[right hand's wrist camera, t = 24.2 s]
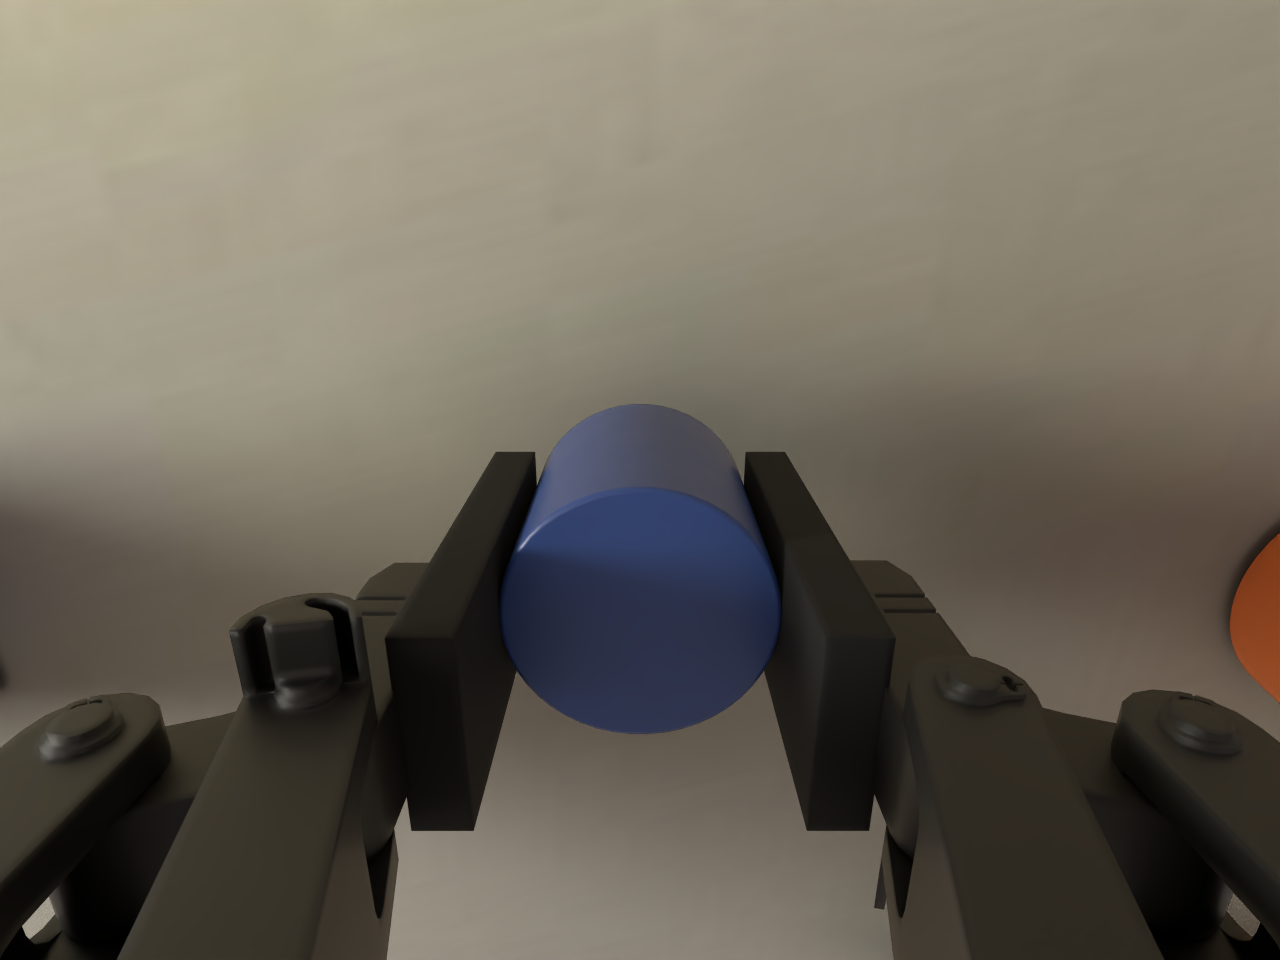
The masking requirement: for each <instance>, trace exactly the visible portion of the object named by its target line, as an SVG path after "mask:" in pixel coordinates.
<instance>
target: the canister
mask: <svg viewBox="0 0 1280 960" xmlns="http://www.w3.org/2000/svg"><path fill="white" fill-rule="evenodd" d="M781 607H782V602H781V592H780V588H779V583H778V578H777V576H776V573H775V570H774V567H773V565H772V562H771V559H770V556H769V554H768V551H767V548H766V545H765V543H764V540H763V537H762V534H761V532H760V529H759V526H758V523H757V521H756V518H755V515H754V513H753V510H752V507H751V504H750V502H749V499H748V496H747V493H746V491H745V488H744V485H743V482H742V480H741V477H740V474H739V471H738V469H737V466H736V463H735V461H734V459H733V457H732V456H731V454H730V452H729V450H728V449H727V448H726V446H725V445H724V444H723V442H722V441H721V440H720V439H719V438H718V437H717V436H716V435H715V433H714V432H713V431H712V430H710V429H709V428H708V427H706V426H705V425H704V424H703V423H701V422H700V421H698V420H696V419H695V418H693V417H691V416H689V415H687V414H685V413H682V412H680V411H677V410H675V409H671V408H667V407H664V406H657V405H650V404H632V405H623V406H618V407H614V408H610V409H606V410H604V411H601V412H599V413H596V414H594V415H592V416H590V417H588V418H586V419H585V420H583V421H581V422H580V423H579V424H577V425H576V426H575V427H573V428H572V429H571V430H570V431H569V432H568V433H567V434H566V435H565V436H563V437H562V438H561V440H560V441H559V442H558V444H557V445H556V446H555V447H554V449H553V451H552V452H551V454H550V456H549V457H548V459H547V461H546V464H545V466H544V469H543V471H542V474H541V477H540V479H539V482H538V485H537V488H536V490H535V493H534V496H533V498H532V501H531V504H530V506H529V509H528V512H527V514H526V517H525V520H524V523H523V525H522V528H521V531H520V533H519V536H518V539H517V541H516V544H515V547H514V550H513V552H512V555H511V558H510V560H509V563H508V566H507V568H506V571H505V574H504V577H503V581H502V585H501V589H500V596H499V615H500V628H501V633H502V638H503V642H504V644H505V647H506V650H507V652H508V655H509V657H510V659H511V661H512V663H513V664H514V666H515V668H516V670H517V672H518V673H519V674H520V676H521V677H522V678H523V680H524V681H525V682H526V684H527V685H528V686H529V687H530V688H531V689H532V690H533V691H534V692H535V693H536V694H537V695H538V696H539V697H540V698H541V699H543V700H544V701H545V702H546V703H547V704H549V705H550V706H551V707H553V708H554V709H556V710H558V711H559V712H561V713H562V714H564V715H566V716H568V717H570V718H572V719H574V720H576V721H578V722H580V723H583V724H586V725H589V726H592V727H595V728H598V729H603V730H607V731H612V732H619V733H628V734H652V733H663V732H669V731H673V730H678V729H682V728H686V727H689V726H692V725H695V724H698V723H700V722H702V721H704V720H707V719H709V718H711V717H713V716H715V715H717V714H718V713H720V712H721V711H723V710H725V709H726V708H728V707H729V706H731V705H732V704H733V703H734V702H736V701H737V700H738V699H740V698H741V697H742V696H743V695H744V694H745V693H746V692H747V691H748V690H749V689H750V688H751V687H752V686H753V684H754V683H755V682H756V680H757V679H758V678H759V677H760V675H761V674H762V672H763V671H764V669H765V667H766V666H767V664H768V662H769V660H770V658H771V656H772V654H773V651H774V649H775V646H776V644H777V640H778V636H779V631H780V623H781Z"/></svg>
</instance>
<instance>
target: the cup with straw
mask: <svg viewBox="0 0 1280 960" xmlns="http://www.w3.org/2000/svg"><path fill="white" fill-rule="evenodd" d="M1230 634H1231V640H1232V644H1233V648H1234V650H1235V653H1236V655H1237V657H1238V659H1239V660H1240V662H1241V664H1242V666H1243V667H1244V668H1245V670H1246V671H1247V672H1248V673H1249V674H1250V675H1251V676H1252V677H1253V678H1254V679H1255V680H1256V681H1257V682H1258V683H1259V684H1260V685H1261V686H1262V687H1263V688H1264V689H1265V690H1266V691H1267V692H1268V693H1269V694H1270V695H1271V696H1272V697H1273V698H1274V699H1275V700H1276V701H1278V702H1279V703H1280V533H1279V534H1278V535H1277V536H1276V537H1275V538H1274V539H1272V540H1271V541H1270V542H1269V543H1268V544H1267V546H1266V547H1265V548H1264V549H1263V550H1262V551H1261V552H1260V553H1259V555H1258V556H1257V557H1256V558H1255V560H1254V561H1253V562H1252V564H1251V565H1250V567H1249V568H1248V570H1247V571H1246V573H1245V575H1244V577H1243V578H1242V580H1241V583H1240V585H1239V587H1238V589H1237V592H1236V595H1235V598H1234V601H1233V605H1232V610H1231V617H1230Z"/></svg>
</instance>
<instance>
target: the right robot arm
mask: <svg viewBox="0 0 1280 960" xmlns="http://www.w3.org/2000/svg"><path fill="white" fill-rule="evenodd" d="M536 488H537V481H536V462H535V452H496V453H495V454H494V456H493V458H492V459H491V461H490V463H489V464H488V466H487V468H486V469H485V471H484V473H483V474H482V476H481V478H480V479H479V481H478V483H477V484H476V486H475V488H474V489H473V491H472V493H471V494H470V496H469V498H468V499H467V501H466V503H465V504H464V506H463V508H462V509H461V511H460V513H459V514H458V516H457V518H456V519H455V521H454V523H453V524H452V526H451V528H450V529H449V531H448V533H447V534H446V536H445V538H444V539H443V541H442V543H441V544H440V546H439V548H438V549H437V551H436V553H435V554H434V556H433V558H432V559H431V561H430V563H394V564H392V565H390V566H389V567H387V568H386V569H384V570H383V571H381V572H379V573H378V574H376V575H375V576H373V577H371V578H370V579H369V580H368V582H367V583H366V584H365V586H364V587H363V589H362V590H361V591H360V593H359V594H358V595H357V597H356V598H357V599H356V600H352V599H351V598H350V597H346V596H342V595H337V594H333V593H309V594H303V595H298V596H292V597H286V598H283V599H280V600H277V601H274V602H271V603H268V604H265V605H263V606H260V607H258V608H257V609H255V610H253V611H251V612H250V613H248V614H246V615H244V616H243V617H241V618H240V619H239V620H238V621H237V622H236V623H235V624H234V625H233V626H232V627H231V629H230V630H229V633H230V637H231V642H232V646H233V650H234V655H235V659H236V664H237V668H238V673H239V677H240V682H241V686H242V690H243V695H244V697H243V699H242V701H241V703H240V705H239V707H238V709H237V711H236V712H233V713H229V714H225V715H221V716H217V717H212V718H206V719H201V720H196V721H191V722H186V723H181V724H176V725H171V726H166V727H165V725H164V721H163V717H162V714H161V710H160V706H159V704H157V703H156V702H155V701H154V700H152V699H151V698H150V697H149V696H144V695H138V694H133V693H122V694H111V695H100V696H95V697H90V699H87V700H86V699H83V700H80V701H77V702H73V703H71V704H69V705H67V706H66V707H64V708H62V709H59V710H57V711H55V712H53V713H50V714H48V715H46V716H44V717H42V718H41V719H39V720H38V721H36V722H35V723H33V724H32V725H30V726H29V727H27V728H25V729H24V730H22V731H21V732H20V733H18V734H17V735H16V736H15V737H13V738H12V739H11V740H10V741H8V742H7V743H6V744H5V745H3V746H2V747H1V748H0V960H386V959H387V950H388V942H389V934H390V926H391V917H392V909H393V901H394V893H395V885H396V876H397V868H398V852H397V845H396V838H395V832H394V827H395V824H396V822H397V819H398V817H399V814H400V812H401V809H402V807H403V804H404V802H405V799H406V797H407V802H408V809H409V816H410V823H411V831H474V827H475V823H476V820H477V816H478V812H479V809H480V805H481V801H482V797H483V794H484V790H485V786H486V782H487V779H488V775H489V771H490V768H491V764H492V760H493V756H494V753H495V749H496V745H497V742H498V738H499V734H500V730H501V727H502V723H503V719H504V715H505V712H506V708H507V704H508V701H509V697H510V693H511V689H512V686H513V682H514V678H515V674H516V671H517V670H516V668H515V666H514V664H513V663H512V661H511V659H510V657H509V655H508V652H507V650H506V647H505V644H504V642H503V638H502V633H501V628H500V615H499V596H500V589H501V585H502V581H503V577H504V574H505V571H506V568H507V566H508V563H509V560H510V558H511V555H512V552H513V550H514V547H515V544H516V541H517V539H518V536H519V533H520V531H521V528H522V525H523V523H524V520H525V517H526V514H527V512H528V509H529V506H530V504H531V501H532V498H533V496H534V493H535V490H536ZM744 488H745V491H746V493H747V496H748V499H749V502H750V504H751V507H752V510H753V513H754V515H755V518H756V521H757V523H758V526H759V529H760V532H761V534H762V537H763V540H764V543H765V545H766V548H767V551H768V554H769V556H770V559H771V562H772V565H773V567H774V570H775V573H776V576H777V578H778V583H779V588H780V592H781V602H782V607H781V623H780V631H779V636H778V640H777V644H776V646H775V649H774V651H773V654H772V656H771V658H770V660H769V662H768V664H767V666H766V667H765V669H764V672H765V676H766V680H767V683H768V687H769V691H770V695H771V698H772V702H773V706H774V709H775V713H776V717H777V721H778V724H779V728H780V732H781V735H782V739H783V743H784V747H785V750H786V754H787V758H788V762H789V765H790V769H791V773H792V776H793V780H794V784H795V788H796V791H797V795H798V799H799V803H800V806H801V810H802V814H803V817H804V821H805V825H806V829H807V831H869V828H870V820H871V813H872V806H873V799H874V794H875V797H876V799H877V802H878V804H879V807H880V809H881V812H882V814H883V817H884V819H885V822H886V824H887V825H886V832H885V838H884V845H883V852H882V858H881V865H880V872H879V878H878V885H877V891H876V899H875V906H874V908H878V909H884V907H885V901H886V899H887V908H888V916H889V924H890V932H891V940H892V949H893V957H894V960H1280V743H1279V742H1278V741H1277V740H1276V739H1274V738H1273V737H1272V736H1271V735H1269V734H1268V733H1267V732H1266V731H1264V730H1263V729H1262V728H1260V727H1259V726H1257V725H1256V724H1254V723H1253V722H1251V721H1249V720H1248V719H1246V718H1245V717H1243V716H1242V715H1240V714H1239V713H1237V712H1235V711H1233V710H1230V709H1228V708H1226V707H1223V706H1221V705H1219V704H1216V703H1215V702H1214V701H1212V700H1209V699H1206V698H1203V697H1200V696H1197V695H1196V696H1192V694H1188V693H1183V692H1174V691H1163V690H1147V691H1141V692H1136V693H1132V694H1131V695H1130V696H1129V697H1128V698H1126V699H1125V700H1124V701H1123V702H1122V705H1121V709H1120V713H1119V716H1118V720H1117V724H1116V723H1111V722H1106V721H1101V720H1096V719H1091V718H1086V717H1081V716H1076V715H1070V714H1065V713H1061V712H1057V711H1053V710H1049V709H1045V708H1042V706H1041V704H1040V702H1039V700H1038V697H1037V695H1036V694H1035V693H1034V692H1033V690H1032V689H1031V688H1030V687H1029V685H1028V684H1027V683H1026V682H1025V681H1024V680H1023V679H1021V678H1020V677H1018V676H1017V675H1015V674H1014V673H1012V672H1011V671H1009V670H1008V669H1007V668H1004V667H1002V666H999V665H997V664H994V663H992V662H989V661H987V660H985V659H981V658H976V657H971V656H970V655H969V653H968V652H967V651H966V649H965V648H964V647H963V645H962V644H961V643H960V641H959V640H958V639H957V637H956V636H955V635H954V633H953V632H952V630H951V629H950V628H949V626H948V625H947V624H946V622H945V621H944V620H943V618H942V617H941V616H940V614H939V613H936V609H935V608H934V606H933V605H932V603H931V602H930V601H929V599H928V598H925V594H924V593H923V591H922V590H921V589H920V587H919V586H918V585H917V583H916V582H915V581H914V579H913V578H912V577H911V576H910V575H909V574H907V573H905V572H904V571H902V570H901V569H899V568H898V567H896V566H894V565H893V564H891V563H890V562H888V561H850V560H849V558H848V557H847V555H846V553H845V552H844V550H843V548H842V547H841V545H840V543H839V542H838V540H837V538H836V537H835V535H834V533H833V532H832V530H831V528H830V527H829V525H828V523H827V522H826V520H825V518H824V517H823V515H822V513H821V512H820V510H819V508H818V507H817V505H816V503H815V502H814V500H813V498H812V497H811V495H810V493H809V492H808V490H807V488H806V487H805V485H804V483H803V482H802V480H801V478H800V476H799V475H798V473H797V471H796V470H795V468H794V466H793V465H792V463H791V461H790V460H789V458H788V456H787V455H786V453H785V452H746V456H745V475H744ZM1233 893H1234V894H1235V895H1236V896H1237V897H1238V898H1239V899H1240V900H1241V901H1242V902H1243V904H1244V905H1245V906H1246V907H1247V908H1248V909H1249V910H1250V911H1251V912H1252V913H1253V915H1254V916H1255V917H1256V918H1257V919H1258V920H1259V921H1260V925H1259V927H1258V930H1257V932H1256V934H1255V935H1254V936H1253V937H1252V936H1250V935H1249V934H1248V933H1247V932H1246V931H1245V930H1243V929H1242V928H1241V927H1240V926H1239V925H1238V924H1237V923H1236V921H1235V920H1234V919H1233V918H1232V917H1231V916H1230V915H1229V913H1228V912H1227V908H1228V905H1229V903H1230V900H1231V897H1232V895H1233ZM48 897H49V898H50V901H51V903H52V906H53V909H54V911H55V915H54V916H53V917H52V919H51V920H50V921H49V922H48V923H47V924H46V925H45V927H44V928H43V929H42V930H40V931H39V932H38V933H37V934H36V935H34V936H33V937H32V938H31V939H29V938H27V937H26V935H25V933H24V930H23V928H22V925H23V924H24V923H25V922H26V921H27V920H28V919H29V918H30V917H31V915H32V914H33V913H34V912H35V911H36V910H37V909H38V908H39V907H40V905H41V904H42V903H43V902H44V901H45V900H46V899H47V898H48Z"/></svg>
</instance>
